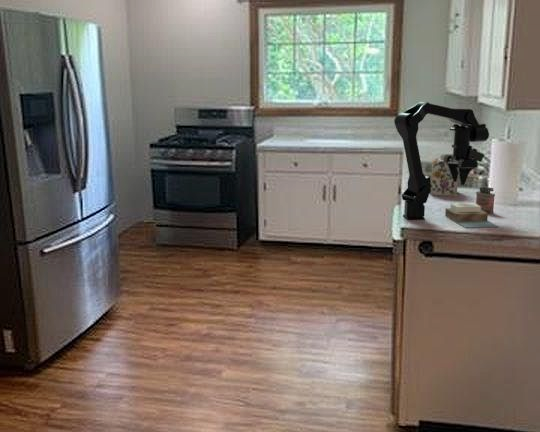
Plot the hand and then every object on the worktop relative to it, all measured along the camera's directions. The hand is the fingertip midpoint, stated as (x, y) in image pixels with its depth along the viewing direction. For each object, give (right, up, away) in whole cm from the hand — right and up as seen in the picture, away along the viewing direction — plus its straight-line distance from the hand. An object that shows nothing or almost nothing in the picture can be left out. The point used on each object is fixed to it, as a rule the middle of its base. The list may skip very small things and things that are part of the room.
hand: (458, 183), depth 225 cm
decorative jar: (+7, -3, +43) cm, 43 cm away
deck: (+1, -14, -6) cm, 15 cm away
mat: (+1, -16, -15) cm, 22 cm away
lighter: (+12, -11, +6) cm, 17 cm away
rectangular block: (+1, -10, -6) cm, 12 cm away
